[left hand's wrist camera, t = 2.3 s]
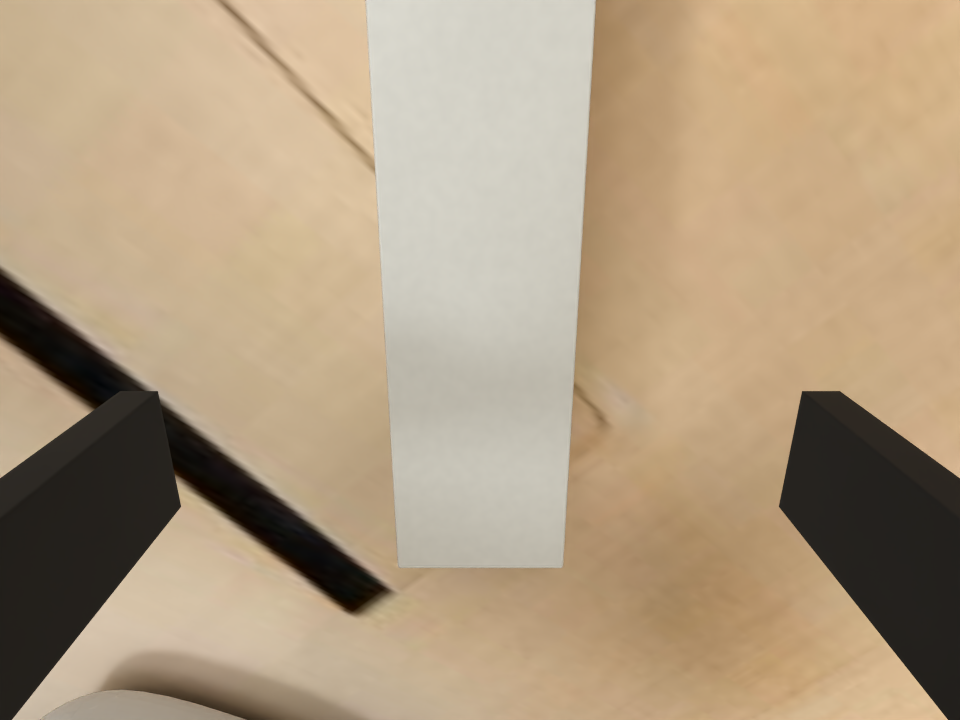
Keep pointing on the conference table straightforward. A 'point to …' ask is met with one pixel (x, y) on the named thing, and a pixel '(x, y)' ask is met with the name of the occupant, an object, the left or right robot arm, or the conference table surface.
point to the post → (480, 268)
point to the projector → (134, 708)
